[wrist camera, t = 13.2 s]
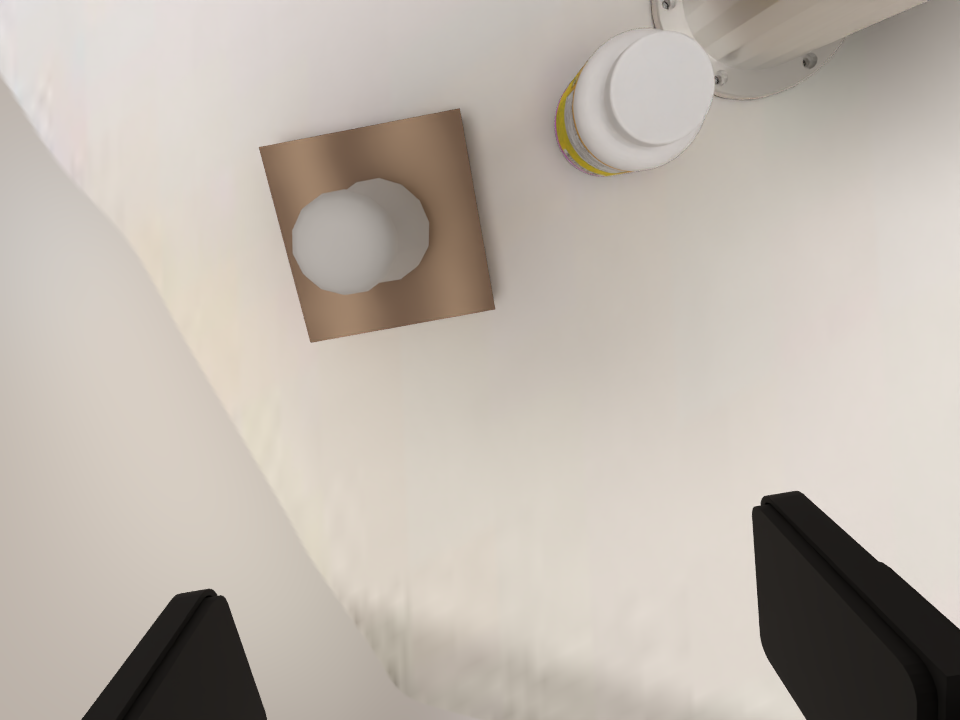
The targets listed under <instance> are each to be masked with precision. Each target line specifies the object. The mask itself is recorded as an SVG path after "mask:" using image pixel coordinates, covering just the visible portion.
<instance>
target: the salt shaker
mask: <svg viewBox="0 0 960 720" xmlns="http://www.w3.org/2000/svg"><path fill="white" fill-rule="evenodd" d="M292 244H293V255H294V257H295V259H296V261H297V263H298V265H299V267H300V269H301V271H302V273H303V274H304V275H305V276H306V277H307V278H308V279H310V280H311V281H312V282H313V283H314V284H316V285H317V286H318V287H319V288H320V289H323V290H327V291H330V292H334V293H338V294H342V295H348V294H354V293H360V292H366V291H369V290H370V289H372V288H373V287H374V286H376V285H377V284H378V283H381V282H387V281H393V280H399V279H402V278H403V277H404V276H405V275H407V274H408V273H409V272H411V271H412V270H413V269H415V268H416V267H417V266H418V265H419V263H420V262H421V260H422V258H423V256H424V254H425V252H426V250H427V248H428V246H429V221H428V219H427V216H426V214H425V212H424V209H423V207H422V205H421V202H420V200H419V199H417V198H416V197H415V196H414V195H413V194H412V193H411V192H409V191H408V190H407V189H406V188H405V187H404V186H403V185H401V184H398V183H394V182H391V181H388V180H384V179H381V178H376V179H371V180H366V181H361V182H356V183H355V184H353V185H352V186H351V187H349V188H348V189H347V190H346V189H343V190H338V191H333V192H328V193H323V194H321V195H320V196H318V197H317V198H316V199H314V200H313V201H312V202H310V203H309V204H308V205H306V206H305V207H304V208H303V209H302V210H301V212H300V214H299V216H298V219H297V221H296V223H295V225H294V228H293V230H292Z"/></svg>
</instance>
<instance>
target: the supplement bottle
mask: <svg viewBox="0 0 960 720" xmlns="http://www.w3.org/2000/svg"><path fill="white" fill-rule="evenodd" d="M714 90H715V77H714V71H713V67H712V64H711V62H710V59H709V57H708V55H707V54H706V52H705V51H704V49H703V48H702V47H701V46H700V44H699V43H697V42H696V41H695V40H694V39H692V38H691V37H689V36H687V35H685V34H682V33H679V32H675V31H665V30H661V29H655V28H638V29H633V30H629V31H626V32H623V33H621V34H618V35H616V36H615V37H613V38H611V39H609V40H608V41H607V42H605V43H604V44H603V45H602V46H601V47H599V48H598V49H597V50H596V51H595V52H594V54H593V55H592V56H591V57H590V58H589V60H588V61H587V62H586V64H585V65H584V66H583V67H582V69H581V70H580V71H579V73H578V74H577V75H576V76H575V78H574V79H573V80H572V81H571V83H570V84H569V85H568V87H567V88H566V89H565V91H564V93H563V94H562V96H561V98H560V100H559V103H558V105H557V109H556V113H555V123H554V127H555V135H556V139H557V143H558V145H559V148H560V150H561V152H562V153H563V155H564V156H565V158H566V159H567V160H568V161H569V162H570V163H571V164H572V165H573V166H574V167H576V168H577V169H579V170H580V171H582V172H585V173H587V174H590V175H594V176H613V175H620V174H625V173H631V172H637V171H643V170H649V169H653V168H657V167H659V166H662V165H664V164H666V163H668V162H670V161H672V160H673V159H675V158H676V157H677V156H679V155H680V154H681V153H682V152H683V151H684V150H685V149H686V148H687V147H688V146H689V145H690V144H691V142H692V141H693V140H694V138H695V137H696V135H697V134H698V132H699V130H700V128H701V126H702V124H703V121H704V119H705V116H706V114H707V112H708V110H709V108H710V106H711V103H712V100H713V95H714Z"/></svg>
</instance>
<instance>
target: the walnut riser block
mask: <svg viewBox="0 0 960 720" xmlns="http://www.w3.org/2000/svg"><path fill="white" fill-rule="evenodd" d="M259 150H260V153H261V157H262V161H263V165H264V168H265V172H266V176H267V180H268V184H269V187H270V191H271V195H272V199H273V202H274V206H275V210H276V214H277V218H278V221H279V225H280V229H281V233H282V236H283V240H284V244H285V248H286V252H287V255H288V259H289V263H290V267H291V270H292V274H293V278H294V282H295V286H296V289H297V293H298V297H299V301H300V304H301V308H302V312H303V316H304V320H305V323H306V327H307V331H308V335H309V338H310V342H311V343H312V342H317V341H323V340H328V339H334V338H339V337H345V336H350V335H356V334H361V333H367V332H372V331H378V330H383V329H389V328H394V327H400V326H406V325H411V324H417V323H422V322H428V321H433V320H439V319H444V318H450V317H455V316H461V315H466V314H472V313H477V312H483V311H488V310H494V309H495V305H494V300H493V294H492V288H491V283H490V277H489V271H488V266H487V260H486V254H485V249H484V243H483V238H482V232H481V226H480V221H479V215H478V209H477V204H476V198H475V192H474V187H473V181H472V175H471V170H470V164H469V158H468V153H467V147H466V141H465V136H464V130H463V125H462V119H461V113H460V108H459V109H454V110H449V111H444V112H439V113H433V114H428V115H423V116H418V117H413V118H408V119H403V120H397V121H392V122H387V123H382V124H377V125H372V126H366V127H361V128H356V129H351V130H346V131H341V132H336V133H330V134H325V135H320V136H315V137H310V138H305V139H299V140H294V141H289V142H284V143H279V144H274V145H268V146H263V147H259ZM376 178H381V179H384V180H388V181H391V182H394V183H398V184H401V185H403V186H404V187H405V188H406V189H407V190H408V191H409V192H411V193H412V194H413V195H414V196H415V197H416V198H417V199H419V200H420V202H421V205H422V207H423V209H424V212H425V214H426V216H427V219H428V221H429V246H428V248H427V250H426V252H425V254H424V256H423V258H422V260H421V262H420V263H419V265H418V266H417V267H416V268H415V269H413V270H412V271H411V272H409V273H408V274H407V275H405V276H404V277H403V278H402V279H399V280H393V281H387V282H381V283H378V284H377V285H376V286H374V287H373V288H372V289H370V290H369V291H366V292H360V293H354V294H348V295H342V294H338V293H334V292H330V291H327V290H323V289H320V288H319V287H318V286H317V285H316V284H314V283H313V282H312V281H311V280H310V279H308V278H307V277H306V276H305V275H304V274H303V273H302V271H301V269H300V267H299V265H298V263H297V261H296V259H295V257H294V255H293V244H292V230H293V228H294V225H295V223H296V221H297V219H298V216H299V214H300V212H301V210H302V209H303V208H304V207H305V206H306V205H308V204H309V203H310V202H312V201H313V200H314V199H316V198H317V197H318V196H320V195H321V194H323V193H328V192H333V191H338V190H343V189H346V190H347V189H348V188H349V187H351V186H352V185H353V184H355V183H356V182H361V181H366V180H371V179H376Z"/></svg>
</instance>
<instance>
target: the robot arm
mask: <svg viewBox="0 0 960 720" xmlns="http://www.w3.org/2000/svg"><path fill="white" fill-rule="evenodd" d="M927 1H929V0H652V15H653V19H654V24H655V28H656V29H661V30H665V31H675V32H679V33H682V34H685V35H687V36H689V37H691V38H692V39H694V40H695V41H696V42H697V43H699V44H700V46H701V47H702V48H703V49H704V51H705V52H706V54H707V55H708V57H709V59H710V62H711V64H712V67H713V71H714V77H717V78H718V79H719V82H718V84H715V90H714V95H716V96H719V97H722V98H729V99H737V100H746V99H758V98H763V97H766V96H770V95H773V94H777V93H779V92H782V91H784V90H787V89H789V88H791V87H794V86H796V85H797V84H799V83H800V82H802V81H804V80H805V79H807V78H808V77H810V76H812V75H813V74H814V73H815V72H816V71H817V70H818V69H819V68H821V67H822V66H823V65H824V64H825V63H826V62H827V61H828V60H829V59H830V58H831V56H832V55H833V54H834V53H835V51H836V50H837V49H838V48H839V46H840V45H841V44H842V42H843V41H844V39H845V37H846V36H848V35H850V34H853V33H855V32H857V31H860V30H862V29H864V28H866V27H869V26H871V25H873V24H876V23H878V22H880V21H883V20H885V19H887V18H890V17H892V16H894V15H897V14H899V13H901V12H903V11H906V10H908V9H910V8H913V7H915V6H917V5H920V4H922V3H924V2H927ZM663 2H666V3H668V6H669V7H668V9H665V8H664V7H663V5H662V3H663ZM803 60H804V61H805V63H806V65H805V67H804V65H803ZM752 521H753V536H754V551H755V566H756V581H757V596H758V611H759V626H760V638H761V642H762V646H763V649H764V652H765V654H766V656H767V658H768V660H769V662H770V663H771V665H772V666H773V668H774V670H775V671H776V673H777V674H778V676H779V677H780V679H781V681H782V682H783V684H784V685H785V687H786V688H787V690H788V691H789V693H790V695H791V696H792V698H793V699H794V701H795V702H796V704H797V706H798V707H799V709H800V710H801V712H802V713H803V715H804V717H805V718H806V720H960V629H959V628H958V627H956V626H955V625H954V624H953V623H952V622H951V621H950V620H949V619H947V618H946V617H945V616H944V615H943V614H942V613H941V612H940V611H938V610H937V609H936V608H935V607H934V606H933V605H932V604H930V603H929V602H928V601H927V600H926V599H925V598H924V597H923V596H921V595H920V594H919V593H918V592H917V591H916V590H915V589H914V588H912V587H911V586H910V585H909V584H908V583H907V582H906V581H905V580H903V579H902V578H901V577H900V576H899V575H898V574H897V573H896V572H894V571H893V570H892V569H891V568H890V567H888V566H887V565H885V564H884V563H882V562H878V561H877V560H876V559H875V558H874V557H873V556H872V555H871V554H870V553H868V552H867V551H866V550H865V549H864V548H863V547H862V546H861V545H860V544H858V543H857V542H856V541H855V540H854V539H853V538H852V537H851V536H849V535H848V534H847V533H846V532H845V531H844V530H843V529H842V528H841V527H839V526H838V525H837V524H836V523H835V522H834V521H833V520H832V519H831V518H829V517H828V516H827V515H826V514H825V513H824V512H823V511H822V510H821V509H819V508H818V507H817V506H816V505H815V504H814V503H813V502H812V501H810V500H809V499H808V498H807V497H806V496H805V495H804V494H803V493H801V492H799V491H792V492H786V493H780V494H774V495H768V496H764V497H763V498H762V500H761V506H755V507H754V508H753V510H752ZM82 720H267V717H266V713H265V710H264V707H263V704H262V701H261V698H260V695H259V692H258V689H257V686H256V684H255V681H254V678H253V675H252V672H251V669H250V666H249V663H248V661H247V657H246V655H245V652H244V649H243V646H242V643H241V640H240V637H239V634H238V631H237V628H236V626H235V623H234V620H233V617H232V614H231V611H230V608H229V605H228V602H227V601H226V598H225V597H224V596H221V595H220V596H217V594H216V593H215V591H214V590H212V589H205V590H198V591H192V592H187V593H181V594H177V595H175V596H174V597H173V598H172V600H171V601H170V602H169V604H168V605H167V606H166V608H165V609H164V610H163V612H162V613H161V614H160V616H159V617H158V618H157V620H156V621H155V622H154V624H153V625H152V626H151V628H150V629H149V630H148V632H147V633H146V634H145V636H144V637H143V638H142V640H141V641H140V642H139V644H138V645H137V646H136V648H135V649H134V650H133V652H132V653H131V654H130V656H129V657H128V658H127V660H126V661H125V662H124V664H123V665H122V666H121V668H120V669H119V670H118V672H117V673H116V674H115V676H114V677H113V678H112V680H111V681H110V682H109V684H108V685H107V686H106V688H105V689H104V690H103V692H102V693H101V694H100V696H99V697H98V698H97V700H96V701H95V702H94V704H93V705H92V706H91V708H90V709H89V710H88V712H87V713H86V714H85V716H84V717H83V718H82Z"/></svg>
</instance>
